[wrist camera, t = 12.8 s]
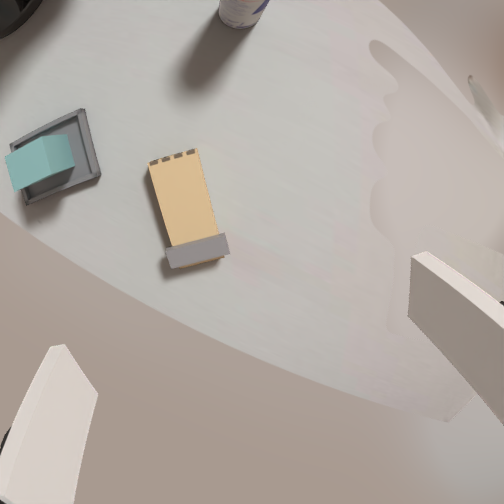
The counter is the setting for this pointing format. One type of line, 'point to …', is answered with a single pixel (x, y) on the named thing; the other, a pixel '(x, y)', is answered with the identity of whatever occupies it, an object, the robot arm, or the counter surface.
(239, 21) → the energy drink
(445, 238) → the counter surface
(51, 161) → the block
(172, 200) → the tan notched slab
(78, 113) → the tray
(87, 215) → the counter surface
